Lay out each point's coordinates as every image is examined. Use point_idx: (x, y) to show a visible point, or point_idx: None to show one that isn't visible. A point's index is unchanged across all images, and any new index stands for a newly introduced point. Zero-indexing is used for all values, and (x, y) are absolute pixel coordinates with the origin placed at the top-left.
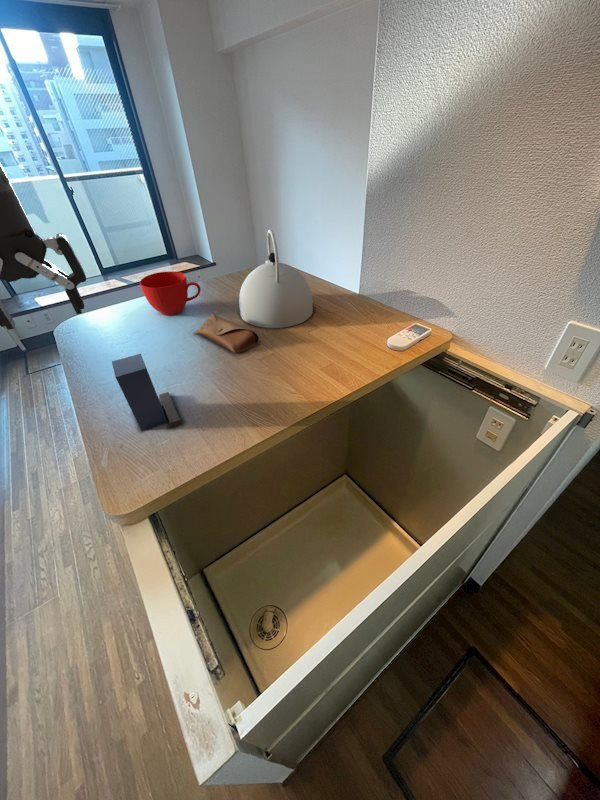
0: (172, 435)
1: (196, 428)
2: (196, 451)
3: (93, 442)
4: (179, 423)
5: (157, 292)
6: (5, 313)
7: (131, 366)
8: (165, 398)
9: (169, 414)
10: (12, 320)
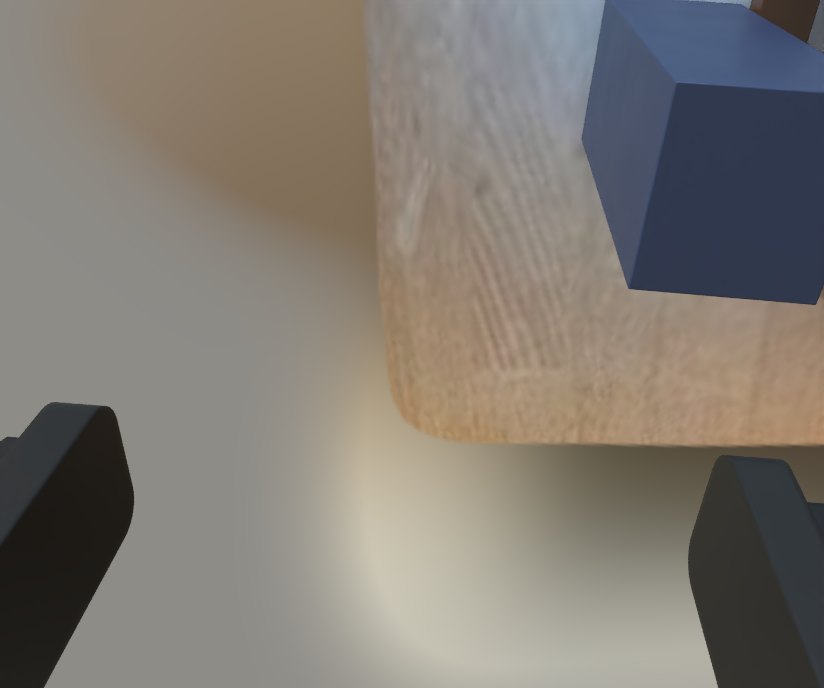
0: None
1: None
2: (705, 368)
3: (381, 90)
4: None
5: None
6: (56, 598)
7: (756, 231)
8: (789, 4)
9: None
10: (96, 454)
